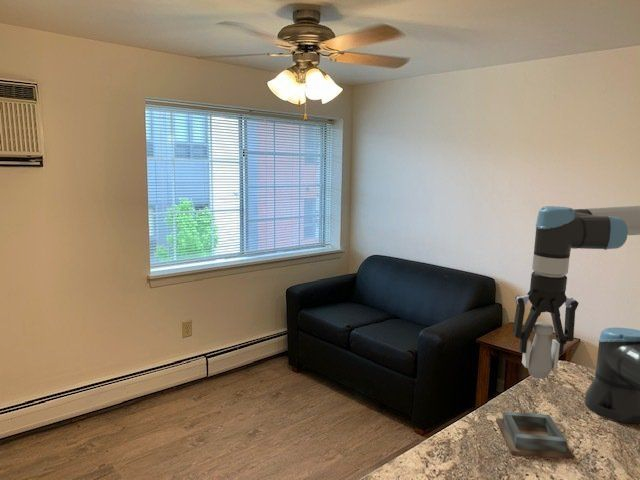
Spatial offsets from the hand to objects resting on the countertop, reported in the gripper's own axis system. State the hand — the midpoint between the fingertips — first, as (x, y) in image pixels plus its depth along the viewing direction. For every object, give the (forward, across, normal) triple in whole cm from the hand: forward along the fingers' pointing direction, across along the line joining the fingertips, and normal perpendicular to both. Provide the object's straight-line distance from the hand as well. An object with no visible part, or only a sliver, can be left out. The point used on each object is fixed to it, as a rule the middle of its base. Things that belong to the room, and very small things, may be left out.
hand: (539, 365), depth 113 cm
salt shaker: (+3, 0, 0) cm, 3 cm away
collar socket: (+19, 0, 0) cm, 19 cm away
